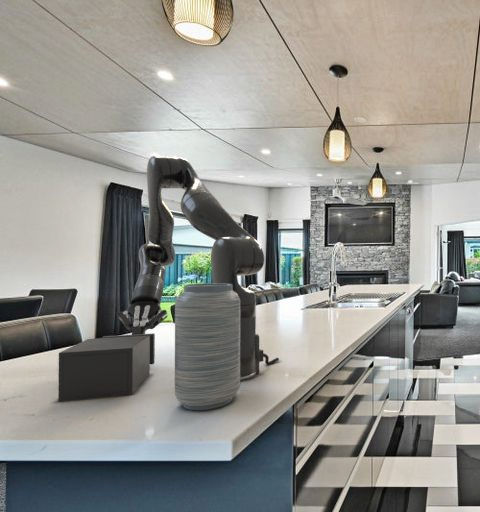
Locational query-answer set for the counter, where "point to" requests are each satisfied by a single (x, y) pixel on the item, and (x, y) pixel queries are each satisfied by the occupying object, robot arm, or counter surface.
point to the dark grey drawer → (152, 344)
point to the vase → (207, 345)
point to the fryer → (103, 367)
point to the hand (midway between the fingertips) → (137, 340)
